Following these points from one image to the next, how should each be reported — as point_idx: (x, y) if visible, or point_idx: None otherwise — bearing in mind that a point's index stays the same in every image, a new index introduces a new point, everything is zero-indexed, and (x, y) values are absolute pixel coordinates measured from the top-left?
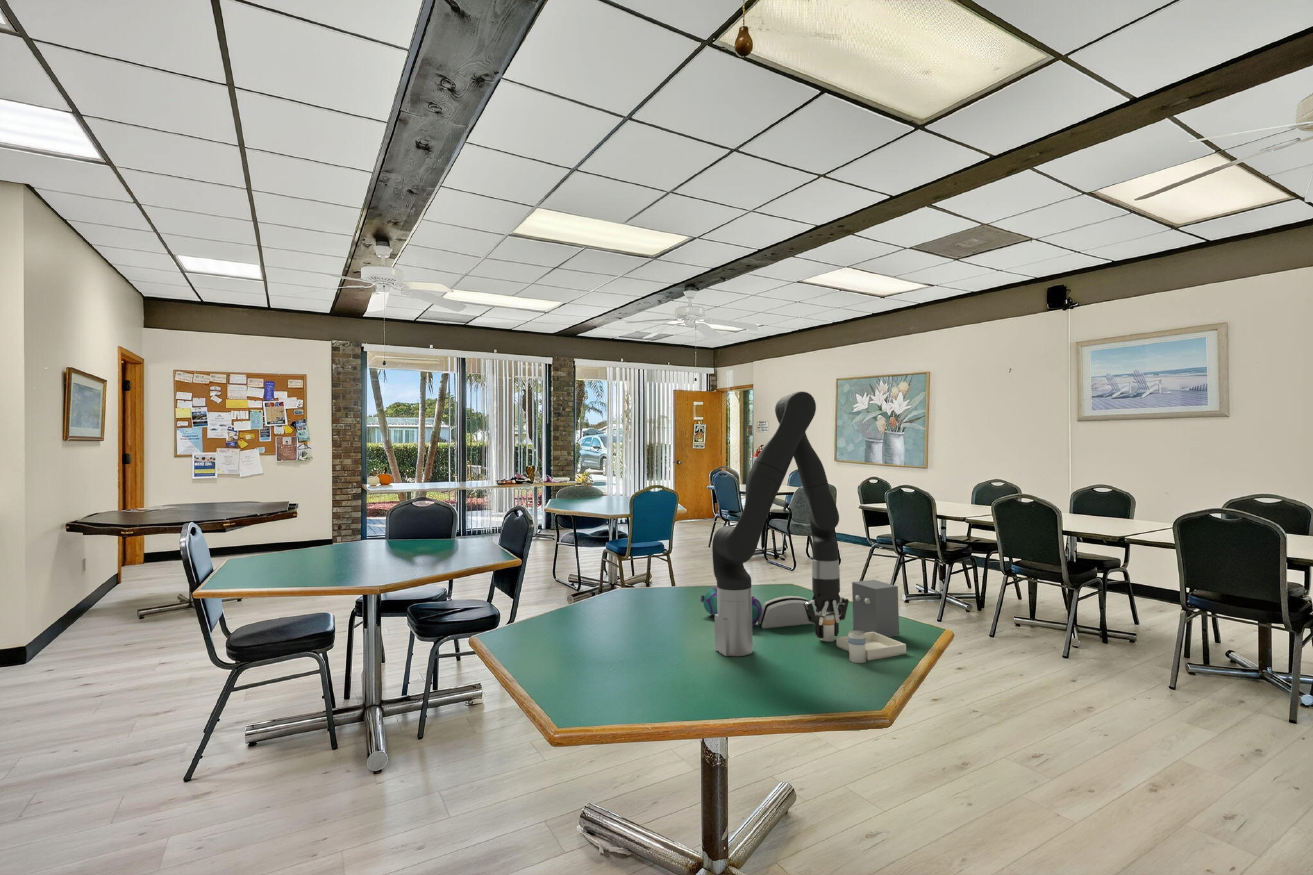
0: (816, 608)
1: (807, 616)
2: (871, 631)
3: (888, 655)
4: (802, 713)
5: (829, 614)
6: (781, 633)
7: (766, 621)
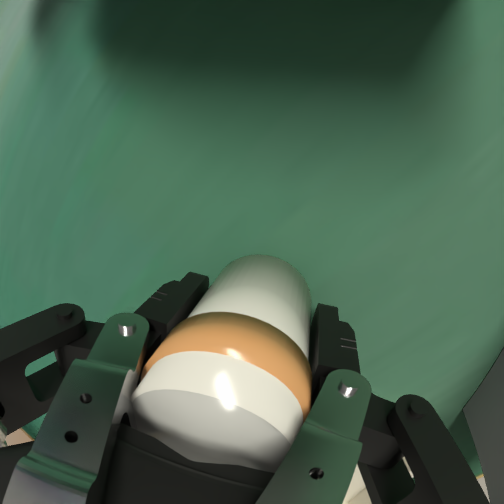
0: (58, 421)
1: (23, 321)
2: (489, 402)
3: None
4: (21, 427)
5: (226, 463)
6: (124, 31)
7: None
